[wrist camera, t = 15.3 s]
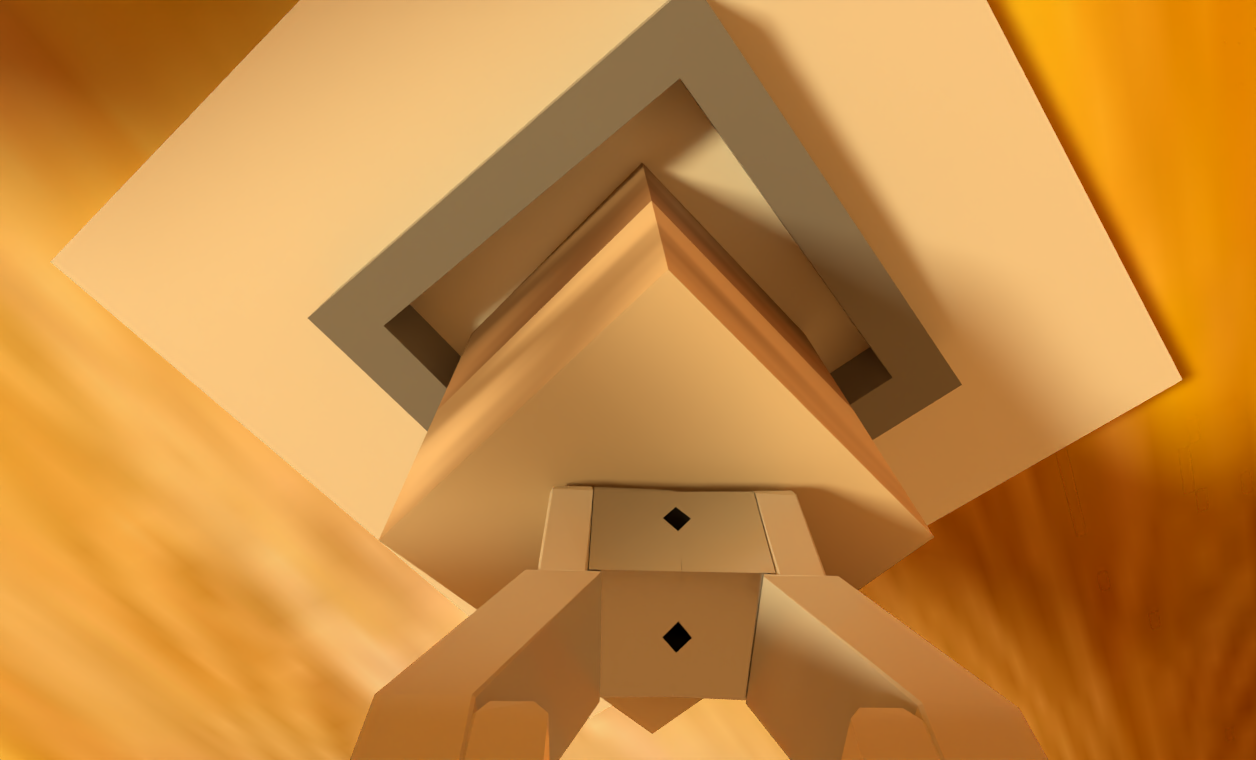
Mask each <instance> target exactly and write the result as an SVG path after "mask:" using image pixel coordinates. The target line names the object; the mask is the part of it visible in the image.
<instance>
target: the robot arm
mask: <svg viewBox="0 0 1256 760" xmlns="http://www.w3.org/2000/svg"><path fill="white" fill-rule="evenodd" d="M600 697H689V698H710V699H732V700H746V704H747V705H748V707H749V708H750V709H751V711H752V712H753V713H754V714H755V716H756V717H757V718H758V719H759V721H760V722H761V723H762V724H763V726H764V727H765V728H766V729H767V731H768V732H769V733H770V735H771V736H772V737H773V738H774V740H775V741H776V742H777V743H778V745H779V746H780V747H781V748H782V750H783V751H784V752H785V753H786V755H787V756H788V757H789V759H790V760H1048V758H1047V757H1046V755H1045V753H1044V751H1043V750H1042V748H1041V746H1040V744H1039V743H1038V741H1037V739H1036V737H1035V736H1034V734H1033V732H1032V730H1031V728H1030V727H1029V725H1028V723H1027V721H1026V720H1025V718H1024V716H1023V714H1022V713H1021V711H1020V709H1019V708H1018V707H1017V706H1015V705H1014V704H1013V703H1011V702H1010V701H1009V700H1007V699H1006V698H1005V697H1003V696H1002V695H1000V694H999V693H998V692H996V691H995V690H994V689H992V688H991V687H989V686H988V685H987V684H985V683H984V682H983V681H981V680H980V679H979V678H977V677H976V676H974V675H973V674H972V673H970V672H969V671H968V670H966V669H965V668H963V667H962V666H961V665H959V664H958V663H957V662H955V661H954V660H953V659H951V658H950V657H948V656H947V655H946V654H944V653H943V652H942V651H940V650H939V649H937V648H936V647H935V646H933V645H932V644H931V643H929V642H928V641H927V640H925V639H924V638H922V637H921V636H920V635H918V634H917V633H916V632H914V631H913V630H911V629H910V628H909V627H907V626H906V625H905V624H903V623H902V622H901V621H899V620H898V619H896V618H895V617H894V616H892V615H891V614H890V613H888V612H887V611H885V610H884V609H883V608H881V607H880V606H879V605H877V604H876V603H875V602H873V601H872V600H870V599H869V598H868V597H866V596H865V595H864V594H862V593H861V592H859V591H858V590H857V589H855V588H854V587H853V586H851V585H850V584H849V583H847V582H846V581H844V580H843V579H842V578H840V577H839V576H826V574H825V571H824V568H823V566H822V563H821V560H820V557H819V555H818V552H817V549H816V547H815V544H814V541H813V538H812V536H811V533H810V530H809V527H808V525H807V522H806V519H805V517H804V514H803V511H802V508H801V506H800V503H799V500H798V497H797V495H796V494H795V493H794V492H793V491H791V490H788V491H752V492H730V491H673V490H657V489H634V488H610V487H594V489H593V488H592V487H591V486H553V488H552V490H551V491H550V496H549V503H548V509H547V515H546V521H545V527H544V533H543V539H542V545H541V552H540V558H539V564H538V570H524V571H523V572H522V573H521V574H520V575H518V576H517V577H516V578H515V579H514V580H512V581H511V582H510V583H509V584H508V585H506V586H505V587H504V588H503V589H501V590H500V591H499V592H498V593H497V594H495V595H494V596H493V597H492V598H491V599H489V600H488V601H487V602H486V603H485V604H483V605H482V606H481V607H480V608H479V609H477V610H476V611H475V612H474V613H473V614H471V615H470V616H469V617H468V618H467V619H465V620H464V621H463V622H462V623H460V624H459V625H458V626H457V627H456V628H454V629H453V630H452V631H451V632H450V633H448V634H447V635H446V636H445V637H444V638H442V639H441V640H440V641H439V642H438V643H436V644H435V645H434V646H433V647H432V648H430V649H429V650H428V651H427V652H426V653H424V654H423V655H422V656H421V657H419V658H418V659H417V660H416V661H415V662H413V663H412V664H411V665H410V666H409V667H407V668H406V669H405V670H404V671H403V672H401V673H400V674H399V675H398V676H397V677H395V678H394V679H393V680H392V681H391V682H389V683H388V684H387V685H386V686H384V687H383V688H382V689H381V690H380V691H378V692H377V693H376V694H375V695H374V698H373V700H372V703H371V706H370V708H369V711H368V714H367V716H366V719H365V722H364V724H363V727H362V729H361V732H360V735H359V737H358V740H357V743H356V745H355V748H354V750H353V753H352V756H351V758H350V760H559V759H560V758H561V756H562V755H563V753H564V752H565V751H566V749H567V748H568V746H569V745H570V743H571V742H572V741H573V739H574V738H575V736H576V735H577V733H578V732H579V731H580V729H581V728H582V726H583V725H584V723H585V722H586V721H587V719H588V718H589V716H590V715H591V713H592V712H593V711H594V709H595V708H596V706H597V705H598V703H599V702H600Z"/></svg>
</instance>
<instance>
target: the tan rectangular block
mask: <svg viewBox="0 0 1256 760" xmlns="http://www.w3.org/2000/svg"><path fill="white" fill-rule="evenodd" d="M553 486H591V487H592V488H593V489H594V487H610V488H634V489H657V490H673V491H730V492H752V491H788V490H791V491H793V492H794V493H795V494H796V495H797V497H798V500H799V503H800V506H801V508H802V511H803V514H804V517H805V519H806V522H807V525H808V527H809V530H810V533H811V536H812V538H813V541H814V544H815V547H816V549H817V552H818V555H819V557H820V560H821V563H822V566H823V568H824V571H825V574H826V576H839V577H840V578H842V579H843V580H844V581H846V582H847V583H849V584H850V585H851V586H853V587H854V588H855V589H857V590H859V589H861V588H862V587H863V586H865V585H866V584H868V583H869V582H871V581H872V580H873V579H875V578H876V577H878V576H879V575H881V574H882V573H883V572H885V571H886V570H888V569H889V568H891V567H892V566H894V565H895V564H896V563H898V562H899V561H901V560H902V559H904V558H905V557H906V556H908V555H909V554H911V553H912V552H914V551H915V550H916V549H918V548H919V547H921V546H922V545H924V544H925V543H926V542H928V541H929V540H931V539H932V538H934V536H933V534H932V533H931V531H930V530H929V528H928V526H927V525H926V523H925V522H924V520H923V519H922V517H921V515H920V514H919V512H918V511H917V509H916V508H915V506H914V504H913V503H912V501H911V500H910V498H909V497H908V495H907V493H906V492H905V490H904V489H903V487H902V486H901V484H900V482H899V481H898V479H897V478H896V476H895V475H894V473H893V472H892V470H891V468H890V467H889V465H888V464H887V462H886V461H885V459H884V457H883V456H882V454H881V453H880V451H879V450H878V448H877V446H876V445H875V443H874V442H873V440H872V439H871V437H870V435H869V434H868V432H867V431H866V429H865V428H864V426H863V424H862V423H861V421H860V420H859V418H858V417H857V415H856V413H855V412H854V410H853V409H852V407H851V406H850V404H849V402H848V401H847V399H846V398H845V396H844V395H843V393H842V392H841V390H840V388H839V387H838V385H837V384H836V382H835V381H834V379H833V377H832V376H831V374H830V373H829V371H828V370H827V368H826V366H825V365H824V363H823V362H822V360H821V359H820V357H819V355H818V354H817V352H816V351H815V349H814V348H813V346H812V344H811V343H810V341H809V340H808V338H807V337H806V335H805V334H804V333H803V332H802V331H801V330H800V328H799V327H798V326H797V325H796V324H795V323H794V322H793V321H792V320H791V319H790V318H789V317H788V316H787V315H786V314H785V313H784V312H783V311H782V309H781V308H780V307H779V306H778V305H777V304H776V303H775V302H774V301H773V300H772V299H771V298H770V297H769V296H768V295H767V294H766V293H765V292H764V290H763V289H762V288H761V287H760V286H759V285H758V284H757V283H756V282H755V281H754V280H753V279H752V278H751V277H750V276H749V275H748V274H747V273H746V271H745V270H744V269H743V268H742V267H741V266H740V265H739V264H738V263H737V262H736V261H735V260H734V259H733V258H732V257H731V256H730V255H729V254H728V252H727V251H726V250H725V249H724V248H723V247H722V246H721V245H720V244H719V243H718V242H717V241H716V240H715V239H714V238H713V237H712V236H711V235H710V233H709V232H708V231H707V230H706V229H705V228H704V227H703V226H702V225H701V224H700V223H699V222H698V221H697V220H696V219H695V218H694V217H693V216H692V214H691V213H690V212H689V211H688V210H687V209H686V208H685V207H684V206H683V205H682V204H681V203H680V202H679V201H678V200H677V199H676V198H675V197H674V195H673V194H672V193H671V192H670V191H669V190H668V189H667V188H666V187H665V186H664V185H663V184H662V183H661V182H660V181H659V180H658V179H657V178H656V176H655V175H654V174H653V173H652V172H651V171H650V170H649V169H648V168H647V167H646V166H645V165H644V164H643V163H641V164H640V165H639V166H638V167H637V168H636V169H635V170H634V171H633V172H632V173H631V174H630V175H629V176H628V177H627V178H626V179H625V180H624V181H623V182H622V183H621V184H620V185H619V186H618V187H617V188H616V189H615V190H614V191H613V192H612V193H611V194H610V195H609V196H608V197H607V198H606V199H605V200H604V201H603V202H602V203H601V204H600V205H599V206H598V207H597V208H596V209H595V210H594V211H593V212H592V213H591V214H590V215H589V216H588V217H587V218H586V219H585V220H584V221H583V222H582V223H581V224H580V225H579V226H578V227H577V228H576V229H575V230H574V231H573V232H572V233H571V234H570V235H569V236H568V237H567V238H566V239H565V240H564V241H563V242H562V243H561V244H560V245H559V246H558V247H557V248H556V249H555V250H554V251H553V252H552V253H551V254H550V255H549V256H548V257H547V258H546V259H545V260H544V261H543V262H542V263H541V264H540V265H539V266H538V267H537V268H536V269H535V270H534V271H533V272H532V273H531V274H530V275H529V276H528V277H527V279H526V280H525V281H524V282H523V283H522V284H521V285H520V286H519V287H518V288H517V289H516V290H515V291H514V292H513V293H512V294H511V295H510V296H509V297H508V298H507V299H506V300H505V301H504V302H503V303H502V304H501V305H500V306H499V307H498V308H497V309H496V310H495V311H494V312H493V313H492V314H491V315H490V316H489V317H488V318H487V319H486V320H485V321H484V322H483V323H482V324H481V325H480V326H479V327H478V328H477V329H476V330H475V331H474V332H473V333H472V334H471V336H470V338H469V340H468V343H467V345H466V347H465V349H464V352H463V354H462V356H461V358H460V360H459V363H458V365H457V367H456V369H455V372H454V374H453V376H452V378H451V380H450V383H449V385H448V387H447V389H446V392H445V394H444V396H443V398H442V400H441V403H440V405H439V407H438V409H437V412H436V414H435V416H434V418H433V420H432V423H431V425H430V427H429V429H428V432H427V434H426V436H425V438H424V440H423V443H422V445H421V447H420V449H419V452H418V454H417V456H416V458H415V460H414V463H413V465H412V467H411V469H410V472H409V474H408V476H407V478H406V481H405V483H404V485H403V487H402V489H401V492H400V494H399V496H398V498H397V501H396V503H395V505H394V507H393V509H392V512H391V514H390V516H389V518H388V521H387V523H386V525H385V527H384V529H383V532H382V534H381V536H380V538H379V541H380V542H382V543H383V544H385V545H386V546H387V547H389V548H390V549H392V550H393V551H394V552H396V553H397V554H399V555H400V556H402V557H403V558H404V559H406V560H407V561H409V562H410V563H411V564H413V565H414V566H416V567H417V568H419V569H420V570H421V571H423V572H424V573H426V574H427V575H428V576H430V577H431V578H433V579H434V580H436V581H437V582H438V583H440V584H441V585H443V586H444V587H445V588H447V589H448V590H450V591H451V592H452V593H454V594H455V595H457V596H458V597H460V598H461V599H462V600H464V601H465V602H467V603H468V604H469V605H471V606H472V607H474V608H475V609H479V608H480V607H481V606H482V605H483V604H485V603H486V602H487V601H488V600H489V599H491V598H492V597H493V596H494V595H495V594H497V593H498V592H499V591H500V590H501V589H503V588H504V587H505V586H506V585H508V584H509V583H510V582H511V581H512V580H514V579H515V578H516V577H517V576H518V575H520V574H521V573H522V572H523V571H524V570H538V564H539V558H540V552H541V545H542V539H543V533H544V527H545V521H546V515H547V509H548V503H549V496H550V491H551V490H552V488H553ZM601 698H603V699H604V700H605V701H607V702H608V703H610V704H611V705H612V706H614V707H615V708H617V709H618V710H619V711H621V712H622V713H624V714H625V715H627V716H628V717H629V718H631V719H632V720H634V721H635V722H636V723H638V724H639V725H641V726H642V727H644V728H645V729H646V730H648V731H649V732H651V733H652V734H653V733H654V732H655V731H657V730H658V729H660V728H661V727H663V726H664V725H666V724H667V723H668V722H670V721H671V720H673V719H674V718H676V717H677V716H678V715H680V714H681V713H683V712H684V711H686V710H687V709H688V708H690V707H691V706H693V705H694V704H696V703H697V702H699V701H700V700H701V699H703V698H689V697H601Z"/></svg>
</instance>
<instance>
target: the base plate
mask: <svg viewBox="0 0 1256 760" xmlns="http://www.w3.org/2000/svg"><path fill="white" fill-rule="evenodd" d="M641 163H643V164H644V165H645V166H646V167H647V168H648V169H649V170H650V171H651V172H652V173H653V174H654V175H655V176H656V178H657V179H658V180H659V181H660V182H661V183H662V184H663V185H664V186H665V187H666V188H667V189H668V190H669V191H670V192H671V193H672V194H673V195H674V197H675V198H676V199H677V200H678V201H679V202H680V203H681V204H682V205H683V206H684V207H685V208H686V209H687V210H688V211H689V212H690V213H691V214H692V216H693V217H694V218H695V219H696V220H697V221H698V222H699V223H700V224H701V225H702V226H703V227H704V228H705V229H706V230H707V231H708V232H709V233H710V235H711V236H712V237H713V238H714V239H715V240H716V241H717V242H718V243H719V244H720V245H721V246H722V247H723V248H724V249H725V250H726V251H727V252H728V254H729V255H730V256H731V257H732V258H733V259H734V260H735V261H736V262H737V263H738V264H739V265H740V266H741V267H742V268H743V269H744V270H745V271H746V273H747V274H748V275H749V276H750V277H751V278H752V279H753V280H754V281H755V282H756V283H757V284H758V285H759V286H760V287H761V288H762V289H763V290H764V292H765V293H766V294H767V295H768V296H769V297H770V298H771V299H772V300H773V301H774V302H775V303H776V304H777V305H778V306H779V307H780V308H781V309H782V311H783V312H784V313H785V314H786V315H787V316H788V317H789V318H790V319H791V320H792V321H793V322H794V323H795V324H796V325H797V326H798V327H799V328H800V330H801V331H802V332H803V333H804V334H805V335H806V337H807V338H808V340H809V341H810V343H811V344H812V346H813V348H814V349H815V351H816V352H817V354H818V355H819V357H820V359H821V360H822V362H823V363H824V365H825V366H826V368H827V370H828V371H829V373H830V374H831V376H832V377H833V379H834V381H835V382H836V384H837V385H838V387H839V388H840V390H841V392H842V393H843V395H844V396H845V398H846V399H847V401H848V402H849V404H850V406H851V407H852V409H853V410H854V412H855V413H856V415H857V417H858V418H859V420H860V421H861V423H862V424H863V426H864V428H865V429H866V431H867V432H868V434H869V435H870V437H871V439H872V440H873V442H874V443H875V445H876V446H877V448H878V450H879V451H880V453H881V454H882V456H883V457H884V459H885V461H886V462H887V464H888V465H889V467H890V468H891V470H892V472H893V473H894V475H895V476H896V478H897V479H898V481H899V482H900V484H901V486H902V487H903V489H904V490H905V492H906V493H907V495H908V497H909V498H910V500H911V501H912V503H913V504H914V506H915V508H916V509H917V511H918V512H919V514H920V515H921V517H922V519H923V520H924V522H925V523H926V525H929V524H931V523H933V522H934V521H936V520H938V519H940V518H941V517H943V516H945V515H947V514H948V513H950V512H952V511H954V510H955V509H957V508H959V507H961V506H962V505H964V504H966V503H968V502H969V501H971V500H973V499H975V498H976V497H978V496H980V495H982V494H983V493H985V492H987V491H989V490H990V489H992V488H994V487H996V486H997V485H999V484H1001V483H1003V482H1004V481H1006V480H1008V479H1010V478H1011V477H1013V476H1015V475H1017V474H1018V473H1020V472H1022V471H1024V470H1025V469H1027V468H1029V467H1031V466H1032V465H1034V464H1036V463H1038V462H1039V461H1041V460H1043V459H1045V458H1046V457H1048V456H1050V455H1052V454H1053V453H1055V452H1057V451H1059V450H1060V449H1062V448H1064V447H1066V446H1067V445H1069V444H1071V443H1073V442H1074V441H1076V440H1078V439H1080V438H1081V437H1083V436H1085V435H1087V434H1088V433H1090V432H1092V431H1094V430H1095V429H1097V428H1099V427H1101V426H1102V425H1104V424H1106V423H1108V422H1109V421H1111V420H1113V419H1115V418H1116V417H1118V416H1120V415H1122V414H1123V413H1125V412H1127V411H1129V410H1130V409H1132V408H1134V407H1136V406H1137V405H1139V404H1141V403H1143V402H1144V401H1146V400H1148V399H1150V398H1151V397H1153V396H1155V395H1157V394H1158V393H1160V392H1162V391H1164V390H1165V389H1167V388H1169V387H1171V386H1172V385H1174V384H1176V383H1178V382H1179V381H1181V380H1182V378H1181V376H1180V374H1179V372H1178V370H1177V368H1176V366H1175V364H1174V362H1173V360H1172V358H1171V356H1170V354H1169V353H1168V351H1167V349H1166V347H1165V345H1164V343H1163V341H1162V339H1161V337H1160V335H1159V333H1158V331H1157V329H1156V327H1155V325H1154V323H1153V322H1152V320H1151V318H1150V316H1149V314H1148V312H1147V310H1146V308H1145V306H1144V304H1143V302H1142V300H1141V298H1140V296H1139V294H1138V292H1137V291H1136V289H1135V287H1134V285H1133V283H1132V281H1131V279H1130V277H1129V275H1128V273H1127V271H1126V269H1125V267H1124V265H1123V263H1122V262H1121V260H1120V258H1119V256H1118V254H1117V252H1116V250H1115V248H1114V246H1113V244H1112V242H1111V240H1110V238H1109V236H1108V234H1107V232H1106V231H1105V229H1104V227H1103V225H1102V223H1101V221H1100V219H1099V217H1098V215H1097V213H1096V211H1095V209H1094V207H1093V205H1092V203H1091V202H1090V200H1089V198H1088V196H1087V194H1086V192H1085V190H1084V188H1083V186H1082V184H1081V182H1080V180H1079V178H1078V176H1077V174H1076V172H1075V171H1074V169H1073V167H1072V165H1071V163H1070V161H1069V159H1068V157H1067V155H1066V153H1065V151H1064V149H1063V147H1062V145H1061V143H1060V141H1059V140H1058V138H1057V136H1056V134H1055V132H1054V130H1053V128H1052V126H1051V124H1050V122H1049V120H1048V118H1047V116H1046V114H1045V112H1044V111H1043V109H1042V107H1041V105H1040V103H1039V101H1038V99H1037V97H1036V95H1035V93H1034V91H1033V89H1032V87H1031V85H1030V83H1029V81H1028V80H1027V78H1026V76H1025V74H1024V72H1023V70H1022V68H1021V66H1020V64H1019V62H1018V60H1017V58H1016V56H1015V54H1014V52H1013V50H1012V49H1011V47H1010V45H1009V43H1008V41H1007V39H1006V37H1005V35H1004V33H1003V31H1002V29H1001V27H1000V25H999V23H998V21H997V20H996V18H995V16H994V14H993V12H992V10H991V8H990V6H989V4H988V2H987V0H299V1H298V2H297V4H296V5H295V6H294V7H293V8H292V9H291V10H290V11H289V12H288V13H287V14H286V15H285V16H284V17H283V18H282V19H281V20H280V21H279V22H278V23H277V25H276V26H275V27H274V28H273V29H272V30H271V31H270V32H269V33H268V34H267V35H266V36H265V37H264V38H263V39H262V40H261V41H260V42H259V43H258V44H257V45H256V47H255V48H254V49H253V50H252V51H251V52H250V53H249V54H248V55H247V56H246V57H245V58H244V59H243V60H242V61H241V62H240V63H239V64H238V65H237V66H236V68H235V69H234V70H233V71H232V72H231V73H230V74H229V75H228V76H227V77H226V78H225V79H224V80H223V81H222V82H221V83H220V84H219V85H218V86H217V87H216V89H215V90H214V91H213V92H212V93H211V94H210V95H209V96H208V97H207V98H206V99H205V100H204V101H203V102H202V103H201V104H200V105H199V106H198V107H197V108H196V109H195V111H194V112H193V113H192V114H191V115H190V116H189V117H188V118H187V119H186V120H185V121H184V122H183V123H182V124H181V125H180V126H179V127H178V128H177V129H176V130H175V132H174V133H173V134H172V135H171V136H170V137H169V138H168V139H167V140H166V141H165V142H164V143H163V144H162V145H161V146H160V147H159V148H158V149H157V150H156V151H155V152H154V154H153V155H152V156H151V157H150V158H149V159H148V160H147V161H146V162H145V163H144V164H143V165H142V166H141V167H140V168H139V169H138V170H137V171H136V172H135V173H134V175H133V176H132V177H131V178H130V179H129V180H128V181H127V182H126V183H125V184H124V185H123V186H122V187H121V188H120V189H119V190H118V191H117V192H116V193H115V194H114V195H113V197H112V198H111V199H110V200H109V201H108V202H107V203H106V204H105V205H104V206H103V207H102V208H101V209H100V210H99V211H98V212H97V213H96V214H95V215H94V216H93V218H92V219H91V220H90V221H89V222H88V223H87V224H86V225H85V226H84V227H83V228H82V229H81V230H80V231H79V232H78V233H77V234H76V235H75V236H74V237H73V238H72V240H71V241H70V242H69V243H68V244H67V245H66V246H65V247H64V248H63V249H62V250H61V251H60V252H59V253H58V254H57V255H56V256H55V257H54V258H53V259H52V261H51V263H52V264H53V265H55V266H56V267H57V268H58V269H59V270H60V271H62V272H63V273H64V274H65V275H66V276H67V277H69V278H70V279H71V280H72V281H73V282H75V283H76V284H77V285H78V286H79V287H80V288H82V289H83V290H84V291H85V292H86V293H88V294H89V295H90V296H91V297H92V298H93V299H95V300H96V301H97V302H98V303H99V304H101V305H102V306H103V307H104V308H105V309H106V310H108V311H109V312H110V313H111V314H112V315H113V316H115V317H116V318H117V319H118V320H119V321H121V322H122V323H123V324H124V325H125V326H126V327H128V328H129V329H130V330H131V331H132V332H134V333H135V334H136V335H137V336H138V337H139V338H141V339H142V340H143V341H144V342H145V343H147V344H148V345H149V346H150V347H151V348H152V349H154V350H155V351H156V352H157V353H158V354H159V355H161V356H162V357H163V358H164V359H165V360H167V361H168V362H169V363H170V364H171V365H172V366H174V367H175V368H176V369H177V370H178V371H180V372H181V373H182V374H183V375H184V376H185V377H187V378H188V379H189V380H190V381H191V382H193V383H194V384H195V385H196V386H197V387H198V388H200V389H201V390H202V391H203V392H204V393H205V394H207V395H208V396H209V397H210V398H211V399H213V400H214V401H215V402H216V403H217V404H218V405H220V406H221V407H222V408H223V409H224V410H226V411H227V412H228V413H229V414H230V415H231V416H233V417H234V418H235V419H236V420H237V421H239V422H240V423H241V424H242V425H243V426H244V427H246V428H247V429H248V430H249V431H250V432H251V433H253V434H254V435H255V436H256V437H257V438H259V439H260V440H261V441H262V442H263V443H264V444H266V445H267V446H268V447H269V448H270V449H272V450H273V451H274V452H275V453H276V454H277V455H279V456H280V457H281V458H282V459H283V460H285V461H286V462H287V463H288V464H289V465H290V466H292V467H293V468H294V469H295V470H296V471H297V472H299V473H300V474H301V475H302V476H303V477H305V478H306V479H307V480H308V481H309V482H310V483H312V484H313V485H314V486H315V487H316V488H318V489H319V490H320V491H321V492H322V493H323V494H325V495H326V496H327V497H328V498H329V499H331V500H332V501H333V502H334V503H335V504H336V505H338V506H339V507H340V508H341V509H342V510H343V511H345V512H346V513H347V514H348V515H349V516H351V517H352V518H353V519H354V520H355V521H356V522H358V523H359V524H360V525H361V526H362V527H364V528H365V529H366V530H367V531H368V532H369V533H371V534H372V535H373V536H374V537H375V538H377V539H378V540H379V538H380V536H381V534H382V532H383V529H384V527H385V525H386V523H387V521H388V518H389V516H390V514H391V512H392V509H393V507H394V505H395V503H396V501H397V498H398V496H399V494H400V492H401V489H402V487H403V485H404V483H405V481H406V478H407V476H408V474H409V472H410V469H411V467H412V465H413V463H414V460H415V458H416V456H417V454H418V452H419V449H420V447H421V445H422V443H423V440H424V438H425V436H426V434H427V432H428V429H429V427H430V425H431V423H432V420H433V418H434V416H435V414H436V412H437V409H438V407H439V405H440V403H441V400H442V398H443V396H444V394H445V392H446V389H447V387H448V385H449V383H450V380H451V378H452V376H453V374H454V372H455V369H456V367H457V365H458V363H459V360H460V358H461V356H462V354H463V352H464V349H465V347H466V345H467V343H468V340H469V338H470V336H471V334H472V333H473V332H474V331H475V330H476V329H477V328H478V327H479V326H480V325H481V324H482V323H483V322H484V321H485V320H486V319H487V318H488V317H489V316H490V315H491V314H492V313H493V312H494V311H495V310H496V309H497V308H498V307H499V306H500V305H501V304H502V303H503V302H504V301H505V300H506V299H507V298H508V297H509V296H510V295H511V294H512V293H513V292H514V291H515V290H516V289H517V288H518V287H519V286H520V285H521V284H522V283H523V282H524V281H525V280H526V279H527V277H528V276H529V275H530V274H531V273H532V272H533V271H534V270H535V269H536V268H537V267H538V266H539V265H540V264H541V263H542V262H543V261H544V260H545V259H546V258H547V257H548V256H549V255H550V254H551V253H552V252H553V251H554V250H555V249H556V248H557V247H558V246H559V245H560V244H561V243H562V242H563V241H564V240H565V239H566V238H567V237H568V236H569V235H570V234H571V233H572V232H573V231H574V230H575V229H576V228H577V227H578V226H579V225H580V224H581V223H582V222H583V221H584V220H585V219H586V218H587V217H588V216H589V215H590V214H591V213H592V212H593V211H594V210H595V209H596V208H597V207H598V206H599V205H600V204H601V203H602V202H603V201H604V200H605V199H606V198H607V197H608V196H609V195H610V194H611V193H612V192H613V191H614V190H615V189H616V188H617V187H618V186H619V185H620V184H621V183H622V182H623V181H624V180H625V179H626V178H627V177H628V176H629V175H630V174H631V173H632V172H633V171H634V170H635V169H636V168H637V167H638V166H639V165H640V164H641ZM381 543H382V542H381ZM382 544H383V543H382ZM384 545H385V544H384ZM385 546H386V545H385ZM386 547H387V546H386ZM387 548H388V549H389V550H391V551H392V552H393V553H394V554H395V555H397V556H398V557H399V558H400V559H401V560H402V561H404V562H405V563H406V564H407V565H408V566H410V567H411V568H412V569H413V570H414V571H415V572H417V573H418V574H419V575H420V576H421V577H423V578H424V579H425V580H426V581H427V582H428V583H430V584H431V585H432V586H433V587H434V588H435V589H437V590H438V591H439V592H440V593H441V594H443V595H444V596H445V597H446V598H447V599H448V600H450V601H451V602H452V603H453V604H454V605H456V606H457V607H458V608H459V609H460V610H461V611H463V612H464V613H465V614H466V615H467V616H468V617H469V616H470V615H471V614H473V613H474V612H475V611H476V610H477V609H475V608H474V607H472V606H471V605H469V604H468V603H467V602H465V601H464V600H462V599H461V598H460V597H458V596H457V595H455V594H454V593H452V592H451V591H450V590H448V589H447V588H445V587H444V586H443V585H441V584H440V583H438V582H437V581H436V580H434V579H433V578H431V577H430V576H428V575H427V574H426V573H424V572H423V571H421V570H420V569H419V568H417V567H416V566H414V565H413V564H411V563H410V562H409V561H407V560H406V559H404V558H403V557H402V556H400V555H399V554H397V553H396V552H394V551H393V550H392V549H390V548H389V547H387ZM611 706H612V705H611V704H610V703H608V702H607V701H605V700H604V699H603V698H601V697H600V702H599V703H598V705H597V706H596V708H595V709H594V711H593V712H592V713H591V715H590V716H589V719H590V718H591V717H593V716H595V715H597V714H598V713H600V712H602V711H604V710H605V709H607V708H609V707H611Z"/></svg>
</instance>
